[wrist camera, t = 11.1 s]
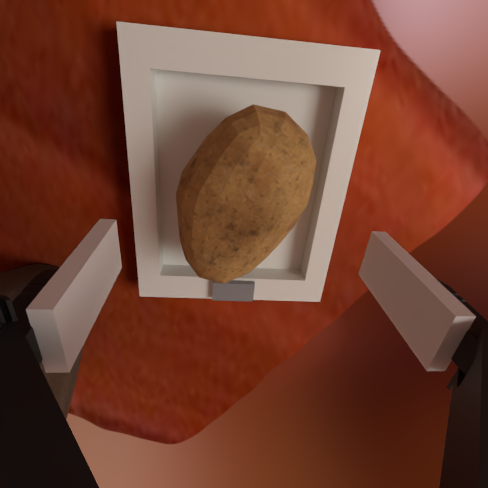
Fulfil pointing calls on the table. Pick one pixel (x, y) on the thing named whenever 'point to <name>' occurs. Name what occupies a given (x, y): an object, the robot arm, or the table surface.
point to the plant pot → (58, 382)
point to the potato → (243, 192)
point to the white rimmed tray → (209, 117)
